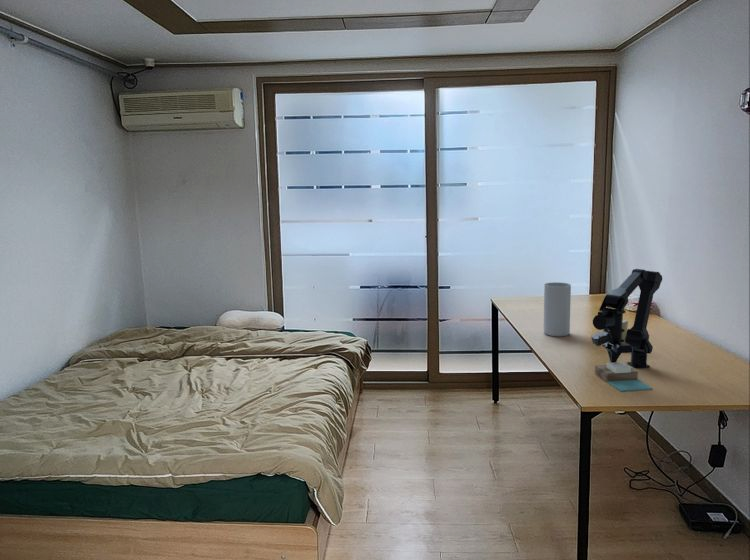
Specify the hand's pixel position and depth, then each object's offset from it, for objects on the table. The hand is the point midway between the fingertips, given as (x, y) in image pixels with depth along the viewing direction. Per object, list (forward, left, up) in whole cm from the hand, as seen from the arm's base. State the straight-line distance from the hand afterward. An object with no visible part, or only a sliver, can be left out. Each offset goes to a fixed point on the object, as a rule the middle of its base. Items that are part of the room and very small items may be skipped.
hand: (612, 364), depth 230 cm
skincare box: (-37, +22, -5) cm, 44 cm away
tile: (+4, 0, -1) cm, 4 cm away
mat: (+13, 0, -4) cm, 14 cm away
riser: (+3, 0, -4) cm, 5 cm away
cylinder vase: (-64, +4, -5) cm, 65 cm away
